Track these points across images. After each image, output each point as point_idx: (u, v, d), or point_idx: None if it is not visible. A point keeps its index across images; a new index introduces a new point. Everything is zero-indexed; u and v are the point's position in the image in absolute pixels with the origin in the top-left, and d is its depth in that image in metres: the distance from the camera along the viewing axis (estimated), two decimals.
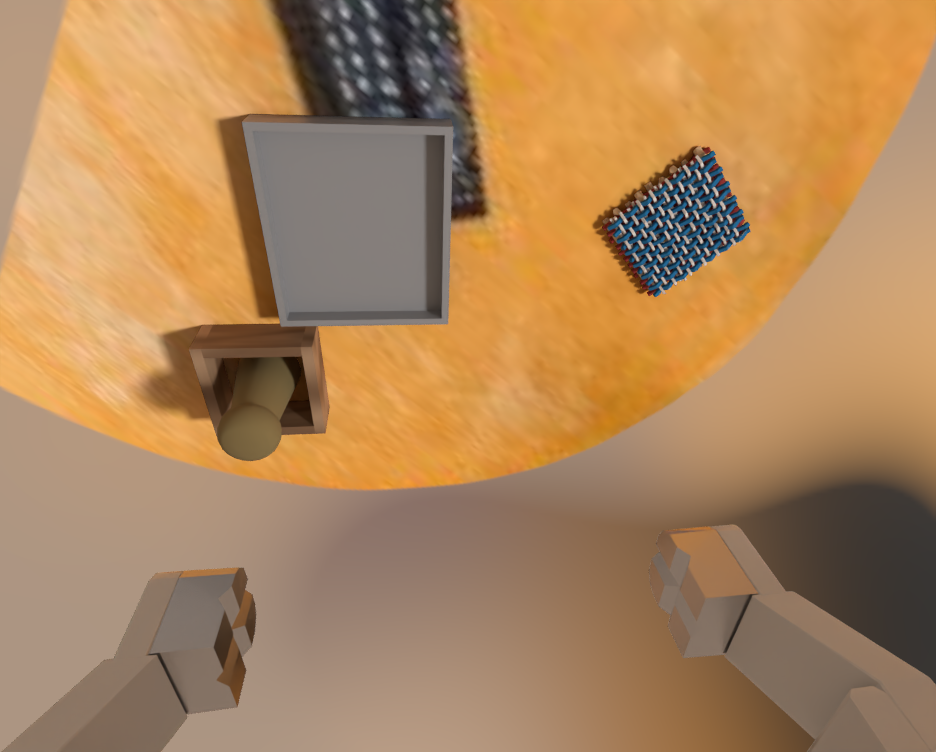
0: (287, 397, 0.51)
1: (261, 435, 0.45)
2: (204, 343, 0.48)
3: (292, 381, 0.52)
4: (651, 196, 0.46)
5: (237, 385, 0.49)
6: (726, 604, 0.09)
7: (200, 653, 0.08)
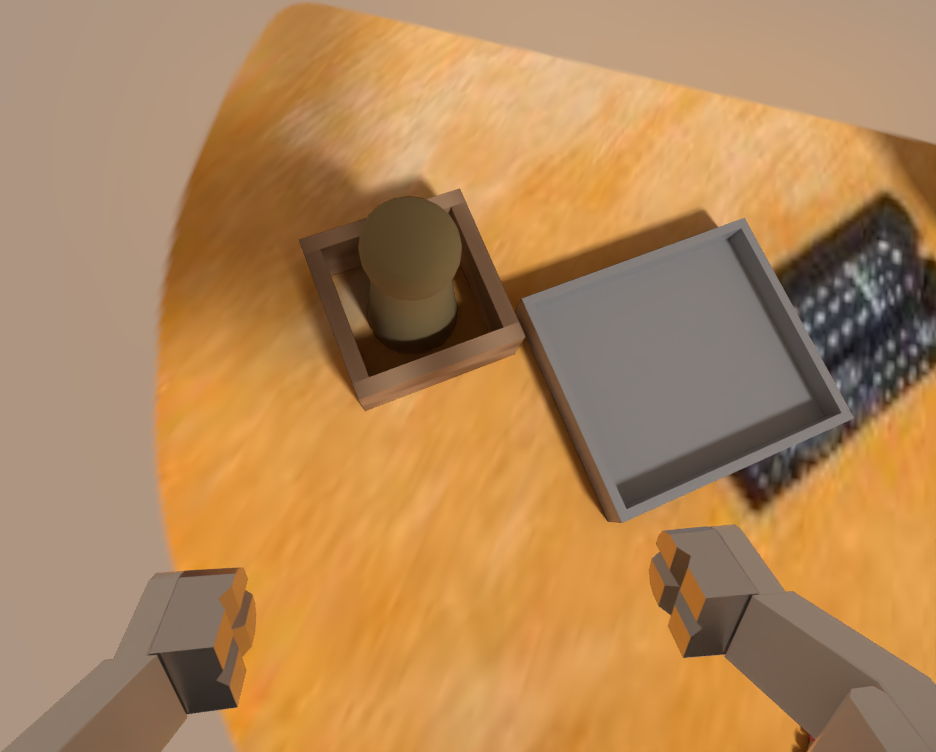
0: (426, 321, 0.32)
1: (440, 253, 0.26)
2: None
3: (433, 331, 0.34)
4: None
5: None
6: (726, 604, 0.09)
7: (200, 653, 0.08)
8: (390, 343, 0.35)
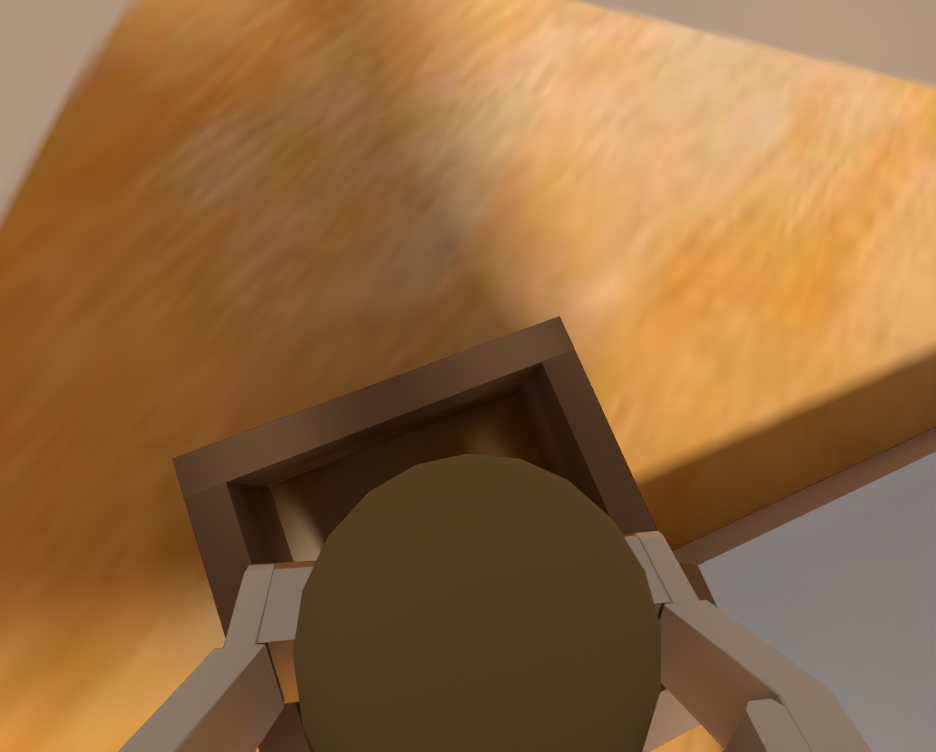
0: None
1: (615, 740, 0.06)
2: None
3: None
4: None
5: None
6: None
7: None
8: None
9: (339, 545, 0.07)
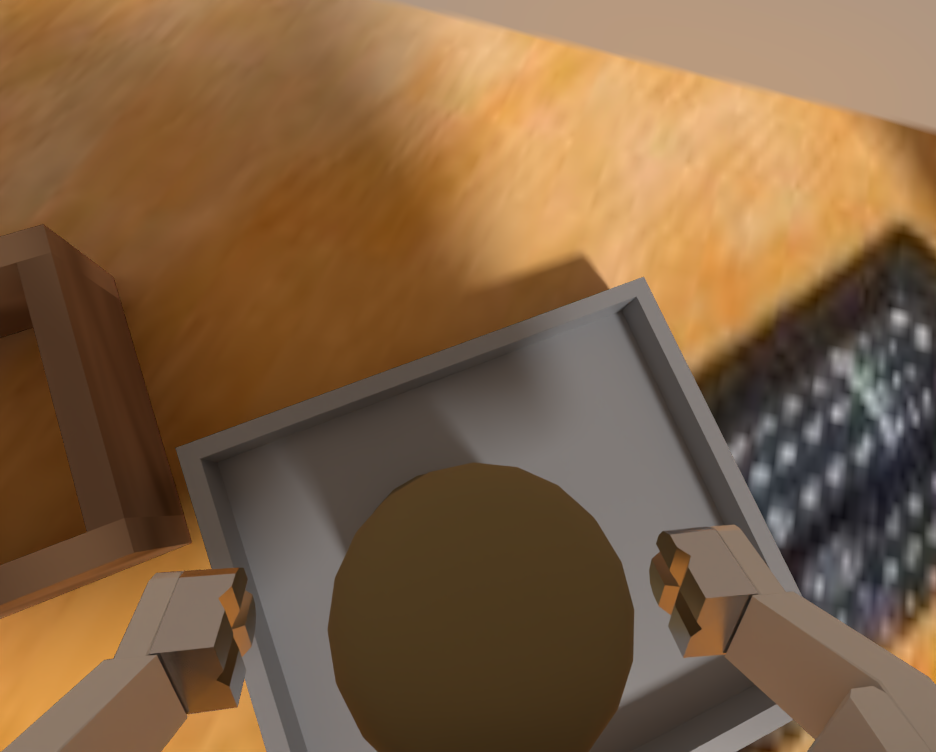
0: None
1: (594, 698, 0.08)
2: (69, 266, 0.17)
3: None
4: None
5: None
6: (726, 604, 0.09)
7: (200, 653, 0.08)
8: None
9: (367, 540, 0.09)
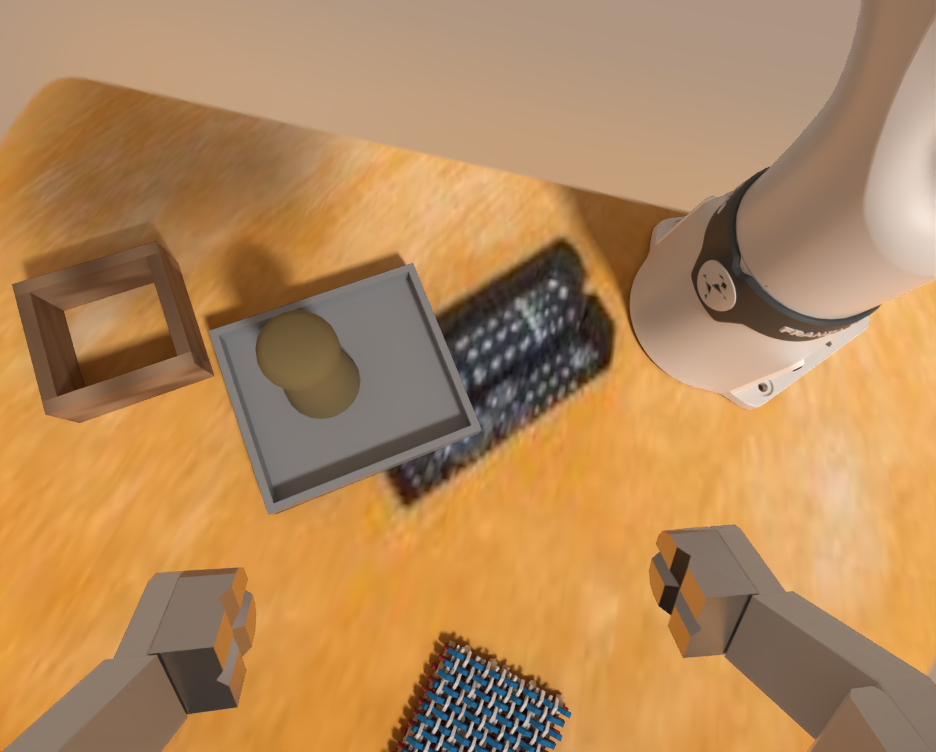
0: (322, 398, 0.39)
1: (317, 358, 0.33)
2: (164, 258, 0.43)
3: (333, 403, 0.41)
4: (501, 675, 0.40)
5: None
6: (726, 604, 0.09)
7: (200, 653, 0.08)
8: (301, 411, 0.42)
9: (264, 325, 0.34)
